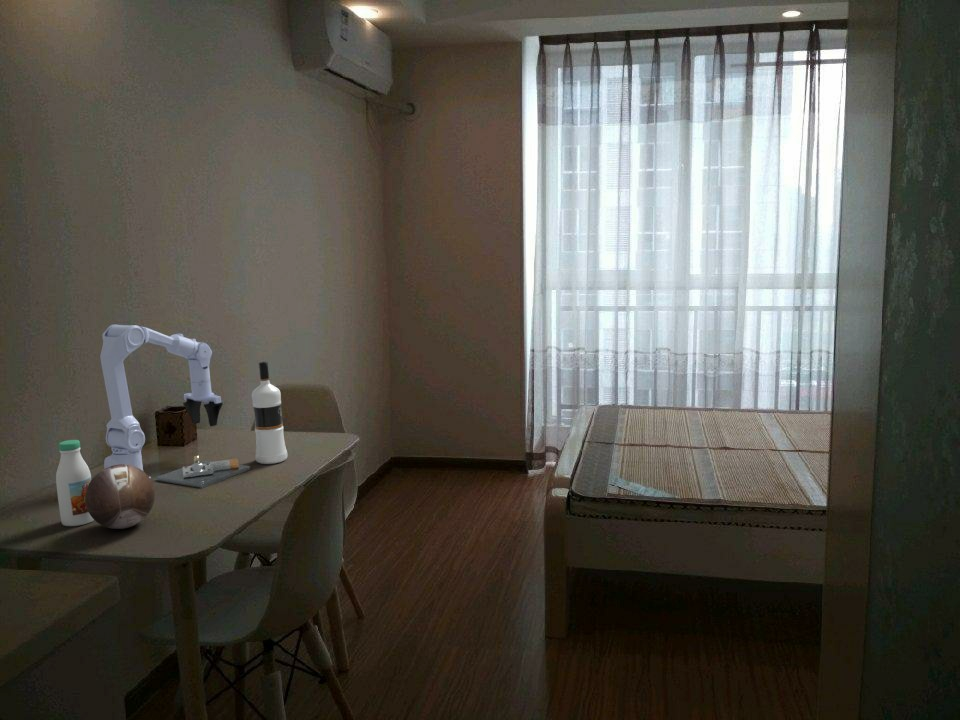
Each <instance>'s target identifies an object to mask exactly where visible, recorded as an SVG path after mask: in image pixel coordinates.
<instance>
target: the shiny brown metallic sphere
mask: <svg viewBox="0 0 960 720" xmlns="http://www.w3.org/2000/svg"><path fill="white" fill-rule="evenodd" d="M149 477H150V476H149V475H148V474H147V473H146V472H145V471H144V470H143V471H142V470H141V469H139V468H137V467H135V466H131V465H125V464H119V465H113V466H110V467H107V468H105V469H104V468H103V469H102V470H100V471H99V472H97V473H96V474H95V475H94V476H93V477H92V478H91V479H92V480H91V482H90V483H89V485H88V487H87V490H86V495H85V503H86V507H87V510H88V512H89V514H90V515H91V517H92V518H93V519H94V520H93V521H95V522H96V523H97V524H98V525H101V526H103V527H105V528H108V529H114V530H120V529H121V530H123V529H128V528H131V527H134V526H136V525H137V524H139V523H141V522H142V521H143V520H144V519H145V518H146V517H147V516H148V515H149V514H150V511H151V510H152V509H153V506H154V504H155V503H154V502H155V499H156V491H155V490H156V489H155V486H154V483H153V481H152V478H151V479H150V478H149Z"/></svg>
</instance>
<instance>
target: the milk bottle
mask: <svg viewBox="0 0 960 720" xmlns="http://www.w3.org/2000/svg"><path fill="white" fill-rule="evenodd" d="M81 449H82V448H81V442H80V440H79V439H68V440H64V441H61V442H59V443H58V450H59V451H58V452H59V453H60V459H59V463H58V465H57V466H58V467H57V470H56V475H55V483H56V485H55V486H56V491H57V492H56V493H57V502H58V509H59V515H60V521H61V525H63V526H65V527H77V526H82V525H87V524H89V523H91V522H94V521H95V520H94V519H93V518H92V517H91V515H90V514H89V512H88V510H87V507H86V503H85V495H86V490H87V487H88V485H89V483H90V482H91V480H92V479H93V478H92V474H91V470H90V468H89V466H88V464H87V463H86V461H85V460H84V459H83V456H82V454H81Z"/></svg>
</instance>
